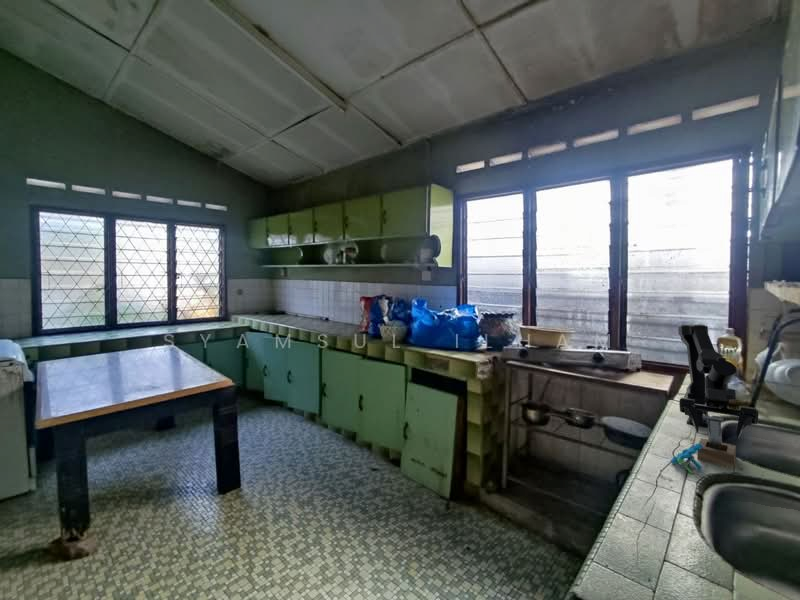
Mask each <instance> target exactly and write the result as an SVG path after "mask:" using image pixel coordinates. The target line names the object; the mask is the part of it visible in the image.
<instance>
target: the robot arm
mask: <svg viewBox="0 0 800 600" xmlns="http://www.w3.org/2000/svg"><path fill="white" fill-rule="evenodd" d="M677 332H678V335H679V336H680V340H681V342H682V343H683V344H684V345H685V346H686V353H687V362H688V369H689V377H690V383H689V385H688V386H687V388H686V392H685V394H684V396H683V397H681V398H679V401H678V402H679V412H681V413H683V414H684V415H685V416H688V418H687V420H686V424H689V425H693V426H694V429H695V431H696V432H697V433H699V427H702V428H708V420H707V419H703V418H702V416H703V415H709V413H716V414H720V415H721V414H723V415H728V416H734V417H738V420H737V427H736V433H735V438H736V439H735V440H739V439H740V436H741V434H742V432H743V430H745V428H746V427H747V426H748V427H750V426H752V425H757V424H758V421H759V410H758V409H757V408H755V407H750V406H743V405H739V409H734V408H729V406H730V401H736V399H737V396H736V389H733V388H732V389H731V388H729V384H731V381H732V380H733V378H734V377H735V375H736V374H737V367H736V366H735V365H734V364H733V363H732V362H730V361H728V360H727V359H726V357H724V356H723V355H722V354H721V353H719V352H717V351H716V349H715V347H714V345H713V342H712V340H711V337H710V336H709V335H710V334H709V327H708V325H705V324H701V323H700V324H698V323H697V324H696V323H690V324H689V323H682V324H681V325H680V326H678V329H677Z"/></svg>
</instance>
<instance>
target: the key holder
mask: <svg viewBox="0 0 800 600" xmlns="http://www.w3.org/2000/svg"><path fill="white" fill-rule="evenodd" d="M700 443H701V444H702V445H703V447H702V449H700V450H697V452H696V454H697V456H696V457H697V460H699V461H703V462H706V463H710V464H714V465H719V466H721V465H723V466H722V467H725V466H728V467H727V468H729V467H733V468H734V469H735V464H736V458H737V457H736V454H737V453H736V452H737V451H736V449H737V447H736V445H734V444H731V443H726V442H722V450H717V449H713V448H709V438H708V439H707V438H703V437H701V438H700V439H699V442H698V444H700ZM733 468H732V469H733Z"/></svg>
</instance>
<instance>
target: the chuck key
mask: <svg viewBox="0 0 800 600" xmlns="http://www.w3.org/2000/svg"><path fill="white" fill-rule="evenodd" d="M702 418H703V419H707V420H708V427H707V428H708V429H707V430H708V440H709V448H713V449H717V450H722V443H723V441H722V422H723V423H724V418H725V417H724V416H717V415H709V414H708V415H703V416H702Z"/></svg>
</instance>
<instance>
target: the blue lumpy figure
mask: <svg viewBox="0 0 800 600" xmlns="http://www.w3.org/2000/svg"><path fill="white" fill-rule="evenodd" d="M702 447H703V445H702V444H701V443H700V444H699V443H696V444H695V445H694V444H693V445H692V446H690V447H689V448H685V449H683V450H681V452H679V453H677V454H676V456H674V457H672V458H671V459H670V462H671V464H677V463H679V464H680V466H681V467H682V468H685V469H686V470H687V471H688V473H690V474H691V475H692V474H694V472H693V471H692V469H690V468H689V466H688V464H689V463H692V464H693V465H694V466H695V467H696V468H697V469H698V470H699V471H700V470H702V469H703V467H702V466H701V465H700V464H699V462H697V460H696V459H695V457H694V455H695V454H697V450H700V449H702ZM685 459H686V460H685Z"/></svg>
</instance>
